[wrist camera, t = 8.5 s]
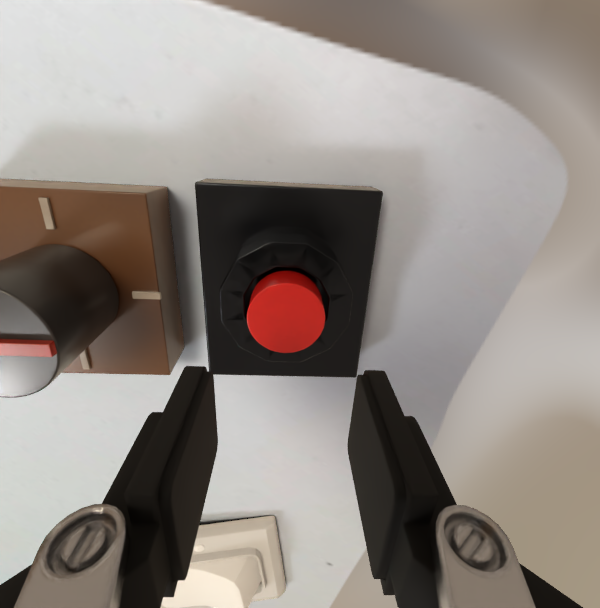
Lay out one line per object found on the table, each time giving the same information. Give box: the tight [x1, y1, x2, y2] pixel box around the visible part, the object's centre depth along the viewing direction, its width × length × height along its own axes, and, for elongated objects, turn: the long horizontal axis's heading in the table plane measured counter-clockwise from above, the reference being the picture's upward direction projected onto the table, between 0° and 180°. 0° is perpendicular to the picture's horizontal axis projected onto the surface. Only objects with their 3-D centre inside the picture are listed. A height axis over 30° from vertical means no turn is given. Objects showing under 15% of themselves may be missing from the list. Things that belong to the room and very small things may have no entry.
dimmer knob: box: [0, 244, 119, 397], centre depth 15 cm, size 5×5×5 cm
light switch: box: [160, 516, 286, 608], centre depth 30 cm, size 11×4×13 cm
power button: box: [247, 271, 325, 353], centre depth 16 cm, size 4×4×2 cm
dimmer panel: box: [0, 179, 184, 375], centre depth 18 cm, size 10×9×3 cm
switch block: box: [195, 179, 383, 377], centre depth 18 cm, size 11×9×4 cm
